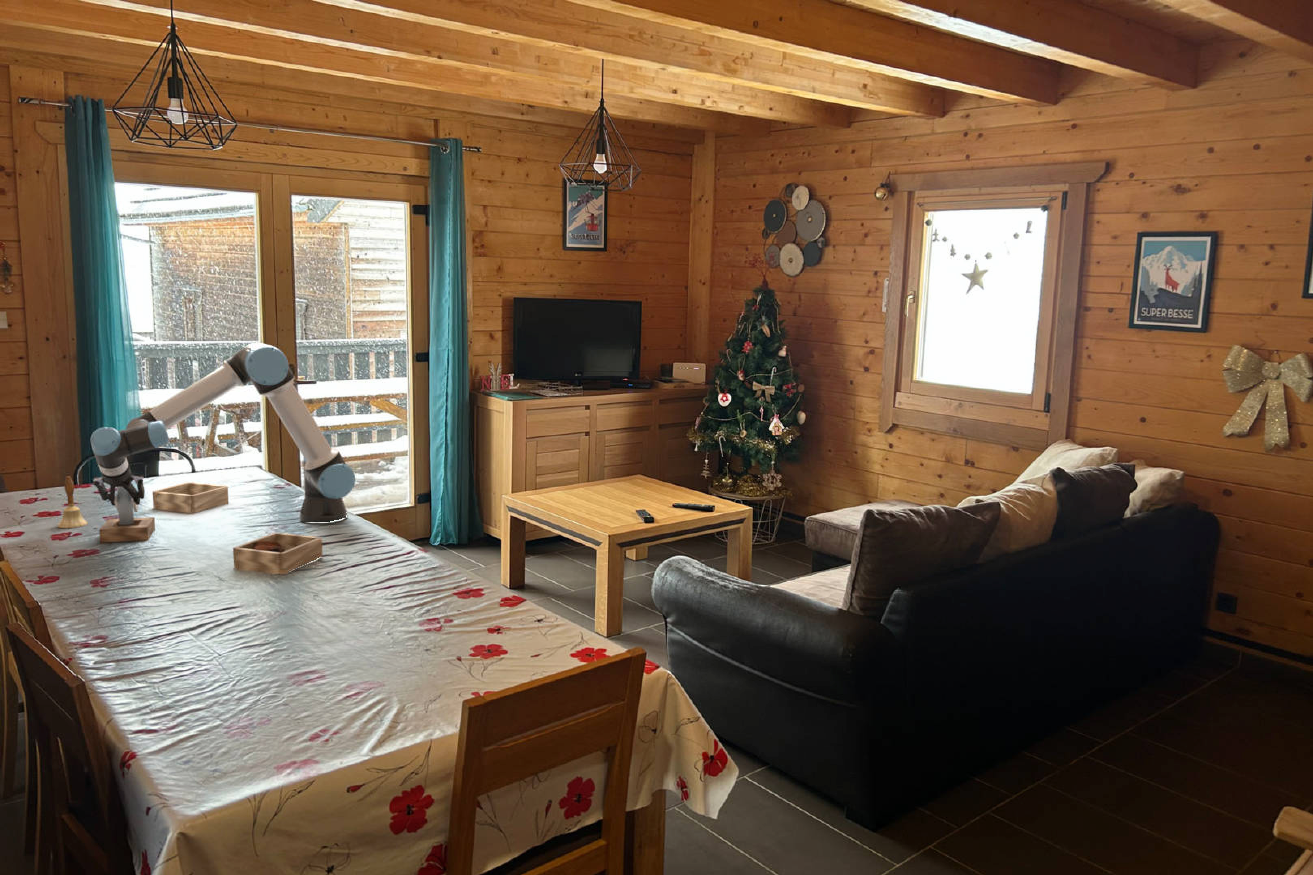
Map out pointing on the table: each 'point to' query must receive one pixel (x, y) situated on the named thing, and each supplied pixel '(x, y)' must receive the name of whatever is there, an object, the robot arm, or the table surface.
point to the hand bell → (71, 509)
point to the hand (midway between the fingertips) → (128, 508)
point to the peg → (125, 507)
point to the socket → (127, 530)
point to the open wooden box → (278, 554)
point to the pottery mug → (268, 546)
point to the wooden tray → (190, 497)
